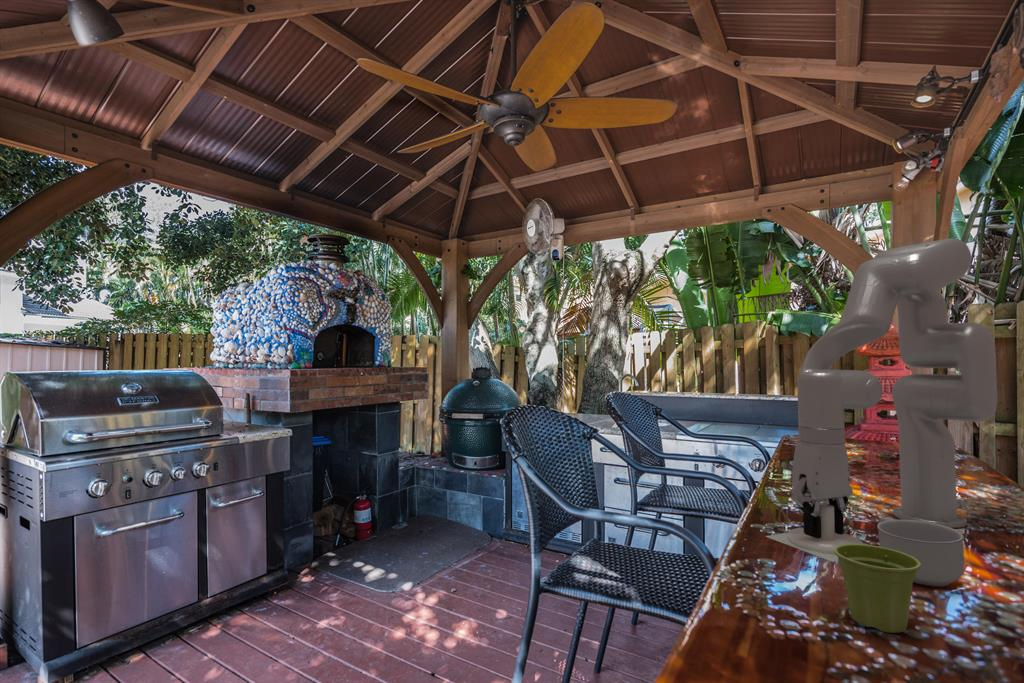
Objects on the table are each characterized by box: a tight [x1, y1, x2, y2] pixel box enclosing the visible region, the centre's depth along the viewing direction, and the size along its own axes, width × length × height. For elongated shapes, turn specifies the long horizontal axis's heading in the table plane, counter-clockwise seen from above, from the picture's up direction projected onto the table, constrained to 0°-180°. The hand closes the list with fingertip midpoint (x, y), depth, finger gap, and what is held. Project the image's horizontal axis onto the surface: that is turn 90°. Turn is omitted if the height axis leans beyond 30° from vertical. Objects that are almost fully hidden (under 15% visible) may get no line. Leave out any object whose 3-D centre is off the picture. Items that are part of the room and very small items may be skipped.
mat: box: [765, 532, 869, 563], centre depth 97 cm, size 14×14×1 cm
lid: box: [787, 502, 863, 555], centre depth 97 cm, size 12×12×7 cm
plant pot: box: [834, 544, 921, 634], centre depth 69 cm, size 9×9×9 cm
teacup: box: [876, 516, 965, 587], centre depth 84 cm, size 14×11×8 cm
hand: (823, 533), depth 97 cm, fingers open, 5 cm apart
